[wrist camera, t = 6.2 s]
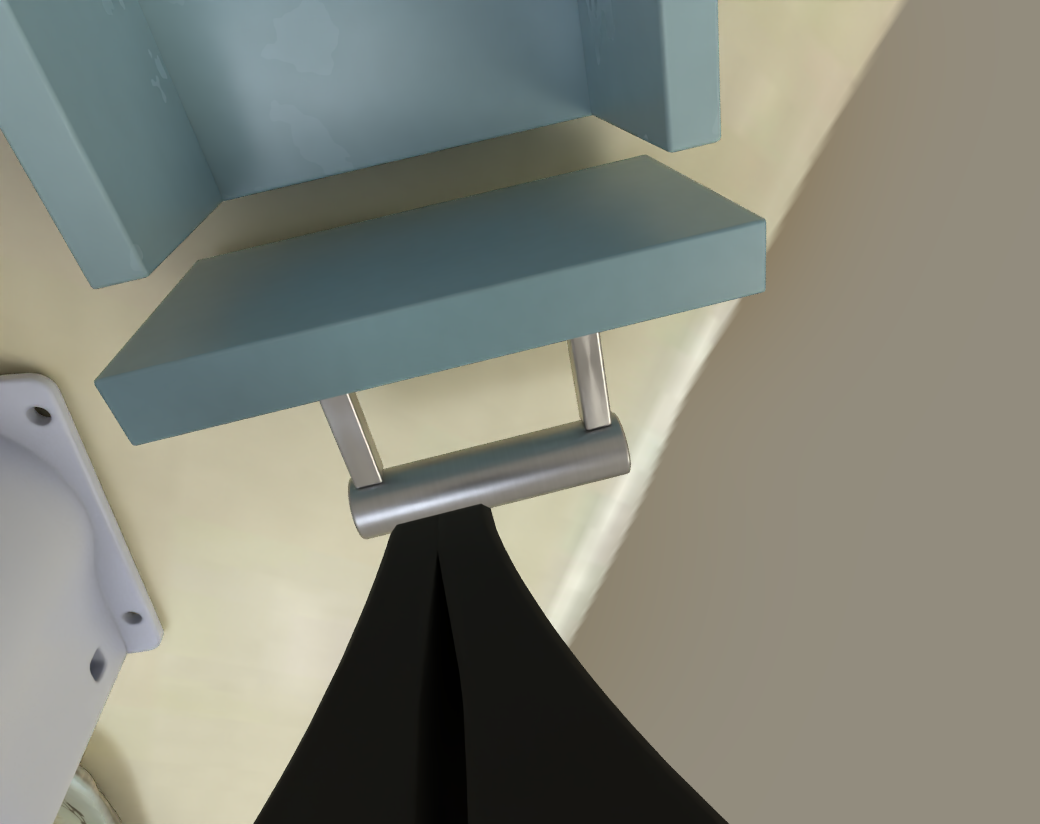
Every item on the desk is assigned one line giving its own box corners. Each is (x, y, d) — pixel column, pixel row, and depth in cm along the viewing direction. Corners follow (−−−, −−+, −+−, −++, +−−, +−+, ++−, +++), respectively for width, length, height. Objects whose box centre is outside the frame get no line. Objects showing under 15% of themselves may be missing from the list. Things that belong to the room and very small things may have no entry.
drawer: (665, 379, 18) (764, 513, 13) (295, 471, 17) (255, 644, 13) (584, -597, 9) (787, -1282, 4) (-142, -454, 9) (-789, -1024, 4)
